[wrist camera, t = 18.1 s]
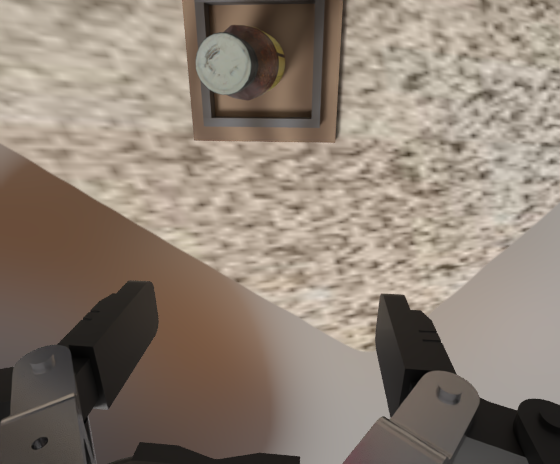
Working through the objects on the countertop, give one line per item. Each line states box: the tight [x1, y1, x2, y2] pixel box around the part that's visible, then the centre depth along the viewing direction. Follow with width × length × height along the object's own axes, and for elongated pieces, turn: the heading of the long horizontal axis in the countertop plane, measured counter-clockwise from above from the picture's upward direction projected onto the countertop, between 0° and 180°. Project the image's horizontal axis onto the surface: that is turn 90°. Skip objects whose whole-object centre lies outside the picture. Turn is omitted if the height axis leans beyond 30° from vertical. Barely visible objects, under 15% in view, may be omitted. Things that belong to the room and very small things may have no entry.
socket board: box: [182, 0, 343, 143], centre depth 43 cm, size 18×18×4 cm
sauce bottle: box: [196, 25, 285, 100], centre depth 35 cm, size 7×6×20 cm
